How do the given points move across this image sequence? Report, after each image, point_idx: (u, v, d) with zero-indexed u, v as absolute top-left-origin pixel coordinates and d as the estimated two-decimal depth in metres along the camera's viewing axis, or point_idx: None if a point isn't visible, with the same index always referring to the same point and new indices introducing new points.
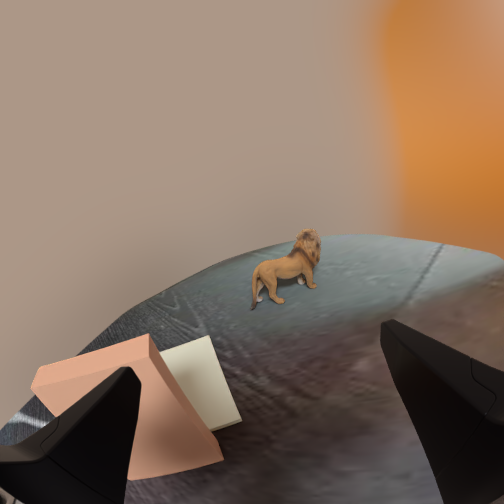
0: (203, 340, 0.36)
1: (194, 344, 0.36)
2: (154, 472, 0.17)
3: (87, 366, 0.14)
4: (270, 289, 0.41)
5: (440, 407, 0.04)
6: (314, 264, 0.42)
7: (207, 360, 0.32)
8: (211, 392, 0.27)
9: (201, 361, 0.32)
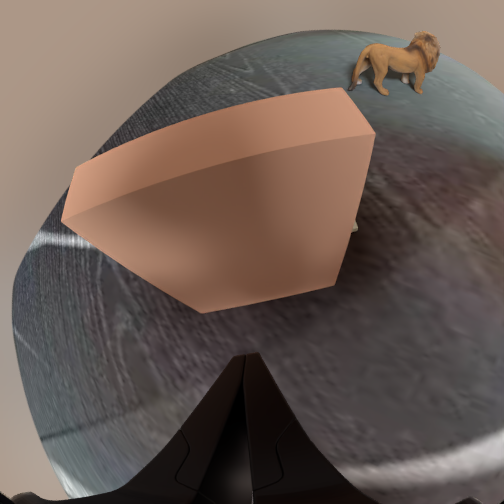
0: None
1: None
2: (240, 303, 0.19)
3: (207, 145, 0.07)
4: (377, 75, 0.25)
5: None
6: (429, 70, 0.22)
7: None
8: None
9: None
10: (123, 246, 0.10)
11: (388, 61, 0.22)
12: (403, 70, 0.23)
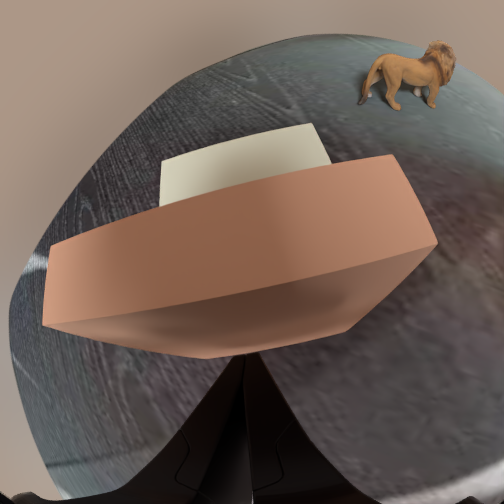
0: (304, 129, 0.25)
1: (292, 132, 0.25)
2: (247, 351, 0.17)
3: (214, 255, 0.05)
4: (390, 89, 0.23)
5: None
6: (444, 83, 0.21)
7: (316, 161, 0.23)
8: None
9: (306, 161, 0.23)
10: (118, 338, 0.08)
11: (402, 74, 0.21)
12: (417, 83, 0.22)
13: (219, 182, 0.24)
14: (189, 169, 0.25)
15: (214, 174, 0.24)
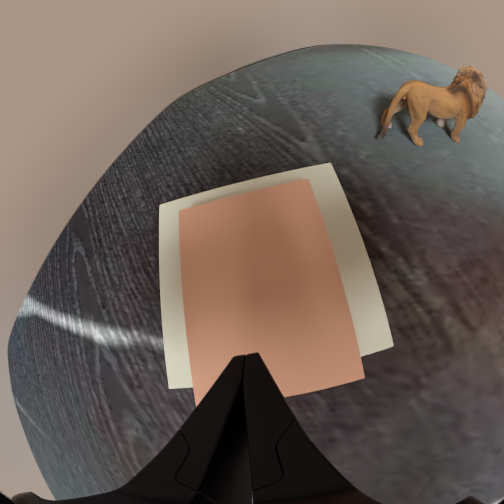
0: (323, 170, 0.22)
1: (309, 175, 0.22)
2: None
3: None
4: (414, 122, 0.20)
5: None
6: (471, 116, 0.18)
7: (337, 214, 0.20)
8: (350, 285, 0.18)
9: (326, 214, 0.20)
10: (192, 236, 0.19)
11: (429, 106, 0.18)
12: (443, 116, 0.19)
13: None
14: None
15: None
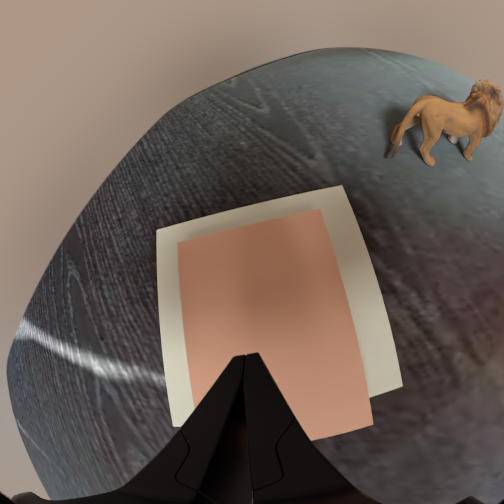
0: (334, 195, 0.21)
1: (319, 199, 0.21)
2: None
3: None
4: (426, 141, 0.19)
5: None
6: (487, 135, 0.16)
7: (348, 246, 0.19)
8: (361, 325, 0.16)
9: (338, 246, 0.19)
10: (193, 274, 0.17)
11: (444, 124, 0.17)
12: (458, 135, 0.18)
13: None
14: None
15: None
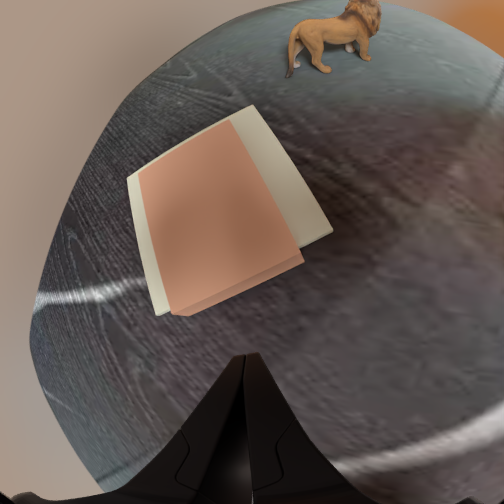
0: (247, 112, 0.25)
1: (236, 118, 0.25)
2: (206, 285, 0.18)
3: None
4: (314, 54, 0.23)
5: None
6: (372, 34, 0.20)
7: (262, 140, 0.24)
8: (281, 189, 0.22)
9: (253, 142, 0.24)
10: (150, 187, 0.23)
11: (322, 36, 0.21)
12: (342, 41, 0.21)
13: None
14: None
15: None
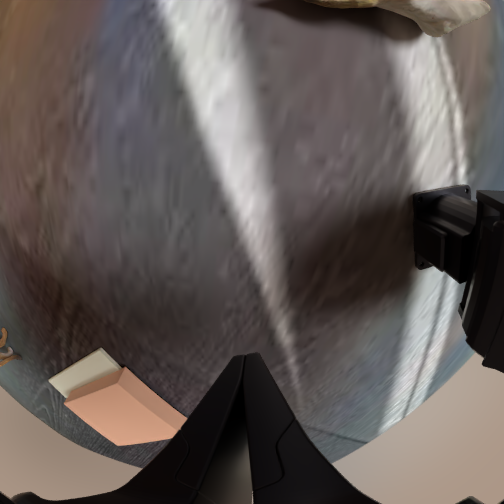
0: (54, 384, 0.27)
1: (61, 390, 0.27)
2: (159, 422, 0.24)
3: None
4: None
5: None
6: None
7: (67, 379, 0.26)
8: (90, 374, 0.25)
9: (71, 384, 0.26)
10: (122, 440, 0.27)
11: None
12: None
13: None
14: None
15: None
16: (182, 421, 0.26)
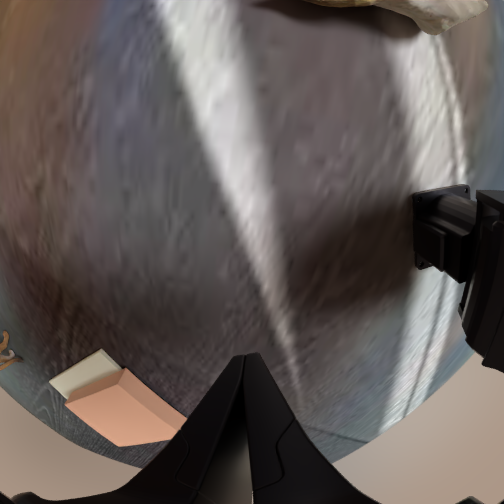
0: (55, 385, 0.27)
1: (62, 391, 0.27)
2: (159, 423, 0.24)
3: None
4: (0, 350, 0.23)
5: None
6: None
7: (68, 380, 0.26)
8: (91, 375, 0.25)
9: (71, 385, 0.26)
10: (122, 441, 0.27)
11: None
12: None
13: None
14: None
15: None
16: (183, 422, 0.26)
